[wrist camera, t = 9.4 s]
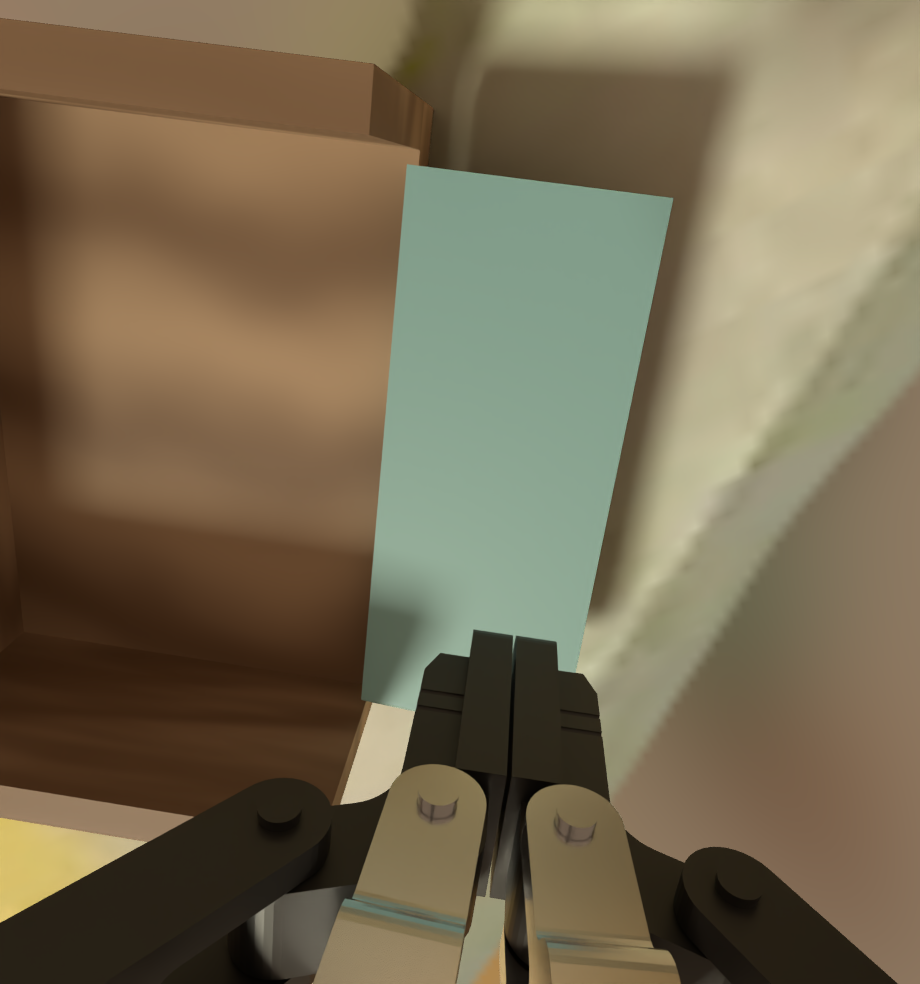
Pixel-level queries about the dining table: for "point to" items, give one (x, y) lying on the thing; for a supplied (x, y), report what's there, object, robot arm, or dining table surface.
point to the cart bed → (189, 416)
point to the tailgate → (503, 413)
